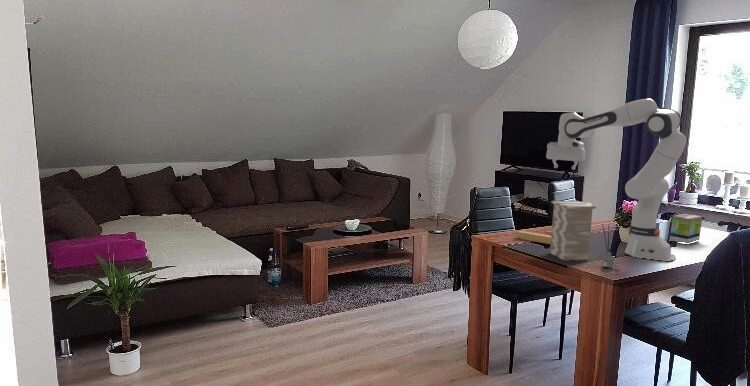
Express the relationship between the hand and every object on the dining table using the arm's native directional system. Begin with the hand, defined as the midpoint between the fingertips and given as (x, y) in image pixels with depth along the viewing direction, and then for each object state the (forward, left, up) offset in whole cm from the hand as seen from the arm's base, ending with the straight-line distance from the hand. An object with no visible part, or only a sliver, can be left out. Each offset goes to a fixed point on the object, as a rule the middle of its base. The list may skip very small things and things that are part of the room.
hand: (564, 168), depth 299 cm
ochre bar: (+7, +12, -39) cm, 42 cm away
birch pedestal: (-17, +32, -39) cm, 53 cm away
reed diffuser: (-38, +38, -39) cm, 66 cm away
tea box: (-53, -45, -39) cm, 80 cm away
